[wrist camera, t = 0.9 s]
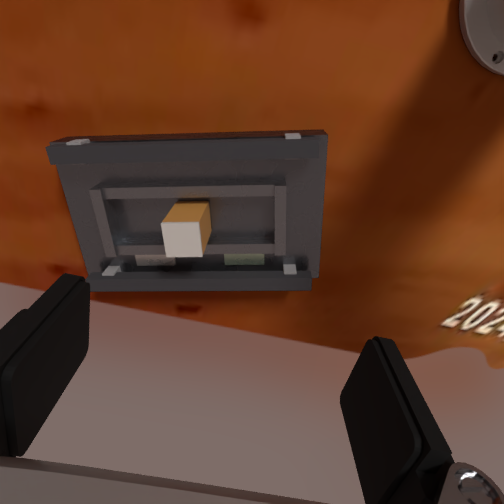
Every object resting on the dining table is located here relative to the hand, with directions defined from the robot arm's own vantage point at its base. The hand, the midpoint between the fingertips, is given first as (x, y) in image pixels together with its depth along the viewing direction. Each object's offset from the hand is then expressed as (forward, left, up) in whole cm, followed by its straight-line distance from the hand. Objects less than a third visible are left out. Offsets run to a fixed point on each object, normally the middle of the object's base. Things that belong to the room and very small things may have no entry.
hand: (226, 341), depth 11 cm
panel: (+6, +4, -25) cm, 25 cm away
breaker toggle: (+6, +4, -21) cm, 22 cm away
